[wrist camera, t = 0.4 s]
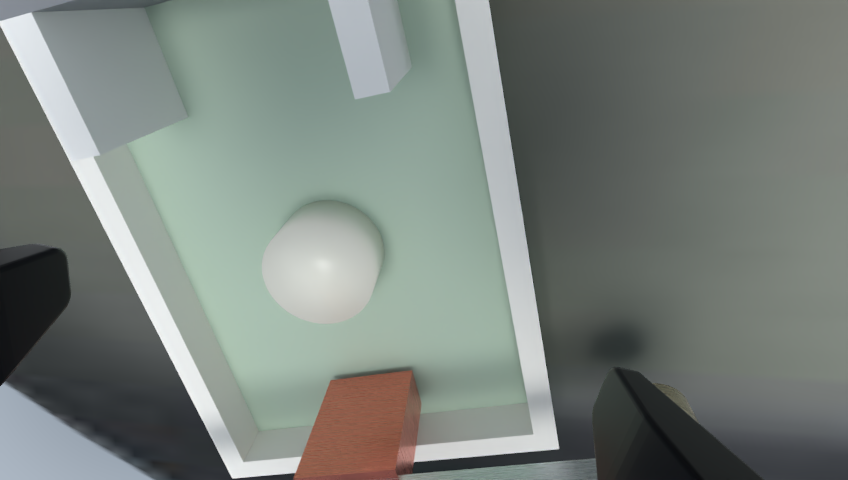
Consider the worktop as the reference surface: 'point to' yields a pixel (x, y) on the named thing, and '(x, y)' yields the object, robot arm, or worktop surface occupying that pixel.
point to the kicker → (403, 437)
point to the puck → (324, 262)
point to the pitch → (305, 202)
